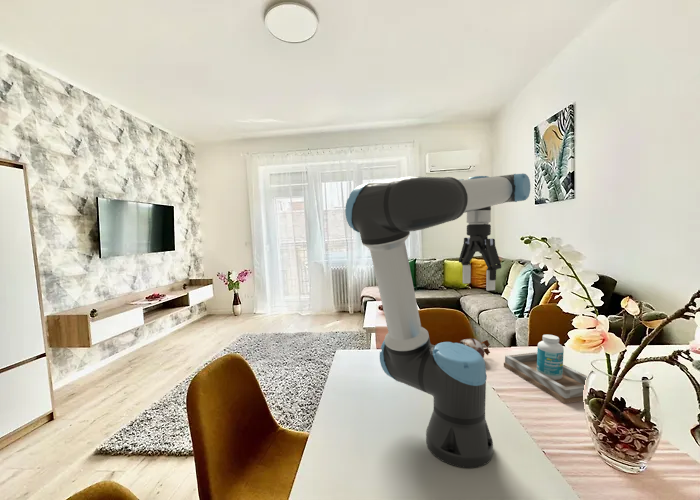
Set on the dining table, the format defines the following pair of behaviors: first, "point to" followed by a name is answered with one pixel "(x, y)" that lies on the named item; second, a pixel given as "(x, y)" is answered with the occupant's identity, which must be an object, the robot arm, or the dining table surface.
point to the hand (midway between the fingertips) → (477, 286)
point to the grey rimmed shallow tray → (560, 389)
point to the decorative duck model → (476, 345)
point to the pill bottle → (550, 357)
